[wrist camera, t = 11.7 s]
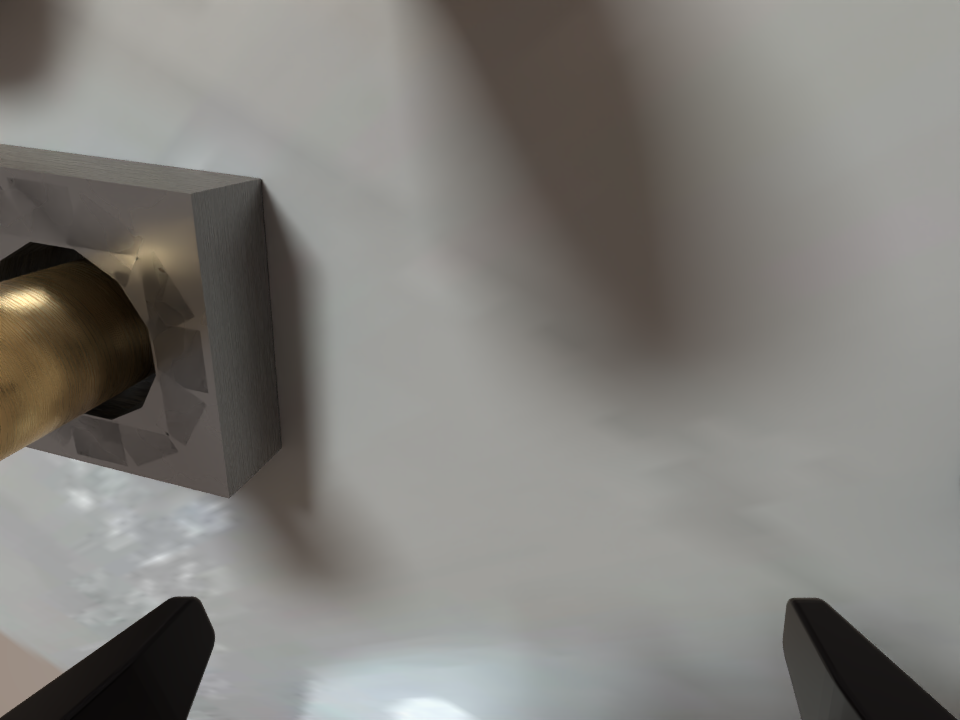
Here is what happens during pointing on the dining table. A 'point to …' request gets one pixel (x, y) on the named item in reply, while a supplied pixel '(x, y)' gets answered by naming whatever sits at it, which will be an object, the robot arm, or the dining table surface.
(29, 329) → the gold metallic cylinder
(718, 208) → the dining table surface
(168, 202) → the block
